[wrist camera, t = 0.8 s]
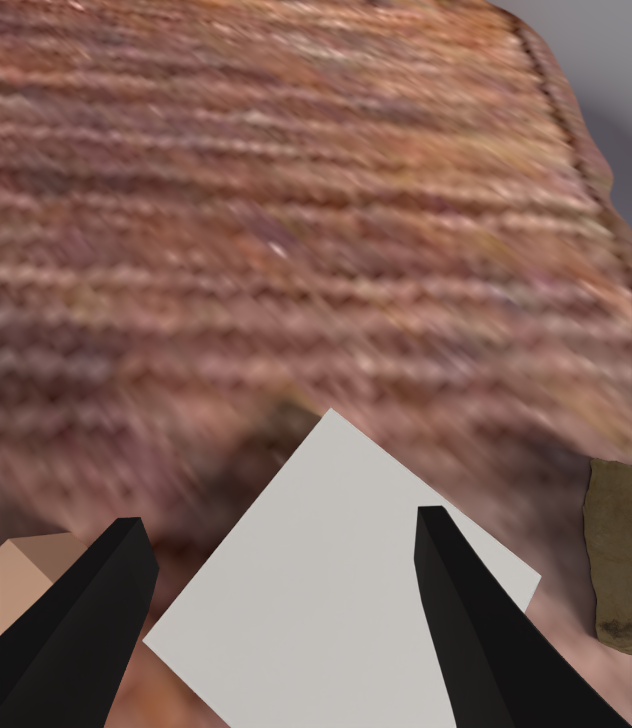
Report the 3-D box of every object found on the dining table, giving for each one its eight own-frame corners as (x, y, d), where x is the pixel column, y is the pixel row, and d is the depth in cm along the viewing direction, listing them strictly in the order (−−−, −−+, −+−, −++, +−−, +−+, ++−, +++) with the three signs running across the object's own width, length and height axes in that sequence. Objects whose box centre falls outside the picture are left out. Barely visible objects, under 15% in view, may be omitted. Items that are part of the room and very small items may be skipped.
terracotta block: (60, 662, 21) (-16, 716, 15) (3, 603, 22) (-90, 634, 16) (126, 585, 23) (79, 609, 17) (71, 532, 23) (8, 538, 18)
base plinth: (375, 834, 20) (393, 886, 17) (158, 624, 22) (142, 640, 19) (511, 569, 25) (541, 576, 22) (324, 418, 27) (330, 407, 24)
